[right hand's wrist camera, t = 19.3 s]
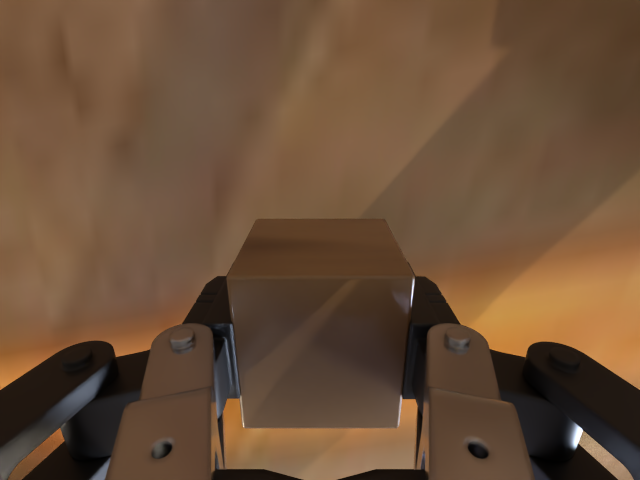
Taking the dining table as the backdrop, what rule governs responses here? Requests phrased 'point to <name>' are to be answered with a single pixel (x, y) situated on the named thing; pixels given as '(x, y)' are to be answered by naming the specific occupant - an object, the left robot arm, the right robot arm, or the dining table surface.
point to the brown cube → (320, 323)
